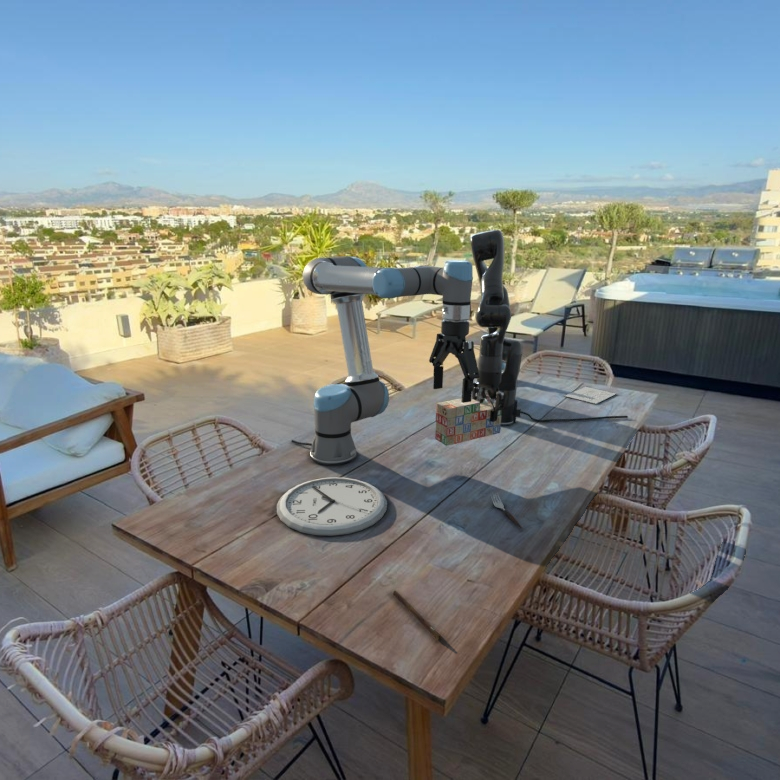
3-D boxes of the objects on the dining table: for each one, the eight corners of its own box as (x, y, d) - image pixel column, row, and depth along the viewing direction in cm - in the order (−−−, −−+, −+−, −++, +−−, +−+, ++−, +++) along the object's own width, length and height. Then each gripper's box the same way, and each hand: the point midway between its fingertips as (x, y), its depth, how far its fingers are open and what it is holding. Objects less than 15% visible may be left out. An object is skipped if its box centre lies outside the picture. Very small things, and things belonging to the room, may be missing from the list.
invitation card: (585, 386, 254) (616, 393, 244) (585, 387, 254) (616, 394, 244) (564, 395, 239) (596, 403, 229) (564, 396, 239) (596, 404, 229)
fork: (516, 530, 132) (517, 523, 131) (489, 500, 147) (489, 493, 146) (526, 529, 133) (526, 522, 132) (497, 499, 147) (498, 492, 147)
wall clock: (392, 527, 129) (268, 531, 127) (391, 533, 130) (269, 537, 127) (383, 473, 158) (282, 475, 155) (383, 478, 158) (282, 480, 156)
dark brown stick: (392, 594, 108) (393, 590, 108) (394, 593, 109) (394, 589, 108) (438, 640, 96) (438, 636, 96) (440, 639, 97) (440, 635, 96)
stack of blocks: (487, 427, 175) (490, 392, 171) (500, 433, 170) (503, 397, 166) (434, 439, 165) (436, 402, 161) (446, 446, 160) (447, 408, 156)
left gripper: (419, 313, 149) (416, 384, 156) (473, 328, 129) (468, 410, 135) (440, 312, 153) (437, 381, 159) (497, 326, 132) (490, 405, 138)
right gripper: (466, 364, 168) (463, 412, 173) (495, 375, 156) (491, 427, 162) (484, 361, 172) (481, 409, 177) (514, 372, 160) (510, 423, 165)
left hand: (451, 394), depth 147 cm, fingers open, 13 cm apart
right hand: (486, 417), depth 169 cm, fingers closed on stack of blocks, 6 cm apart
